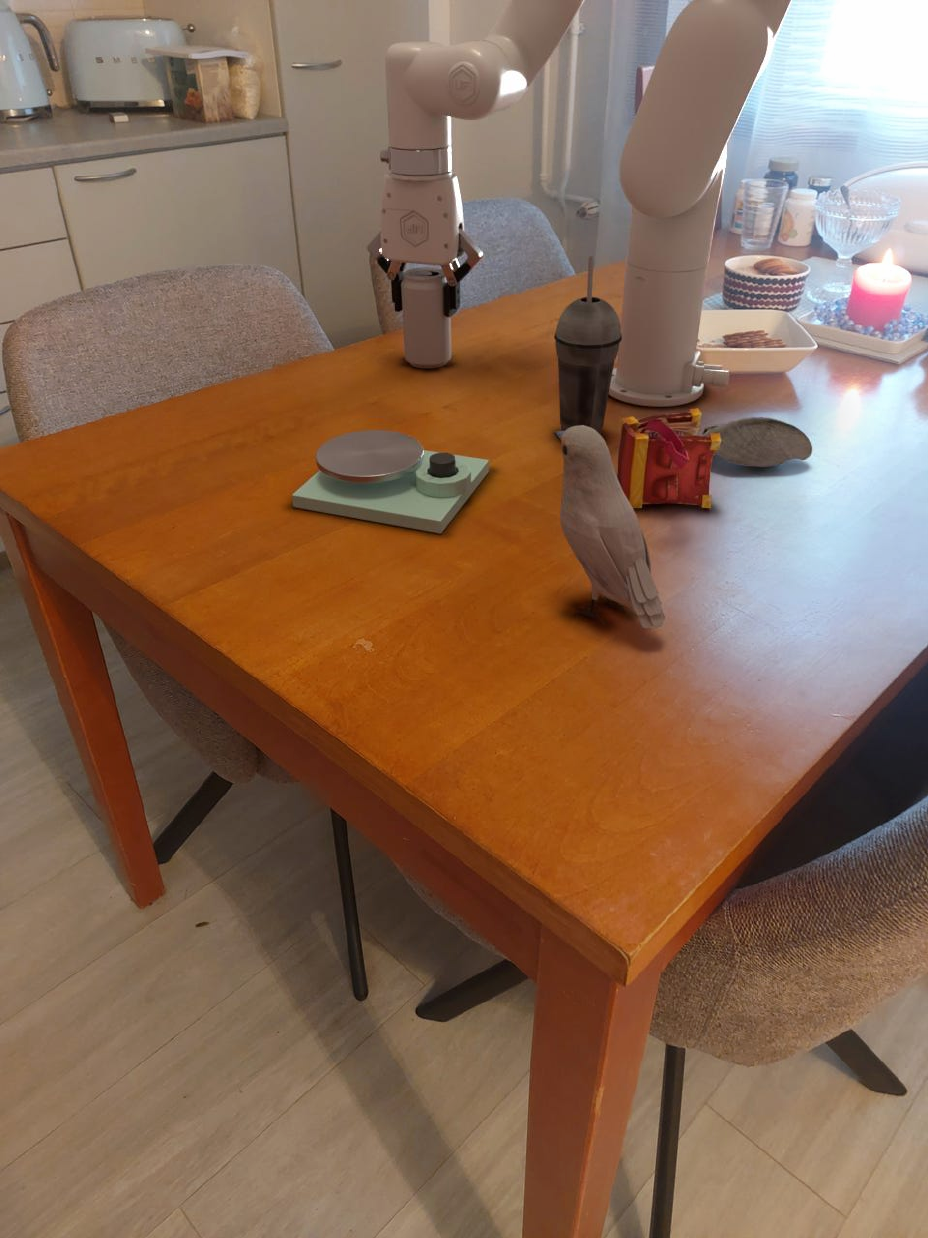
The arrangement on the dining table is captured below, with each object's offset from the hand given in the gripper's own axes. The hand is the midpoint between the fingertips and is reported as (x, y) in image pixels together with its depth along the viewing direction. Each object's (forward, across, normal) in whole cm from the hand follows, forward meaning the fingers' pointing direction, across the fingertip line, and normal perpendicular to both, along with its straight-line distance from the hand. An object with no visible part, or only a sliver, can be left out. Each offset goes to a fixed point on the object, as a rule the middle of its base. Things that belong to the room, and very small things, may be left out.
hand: (426, 310), depth 119 cm
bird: (+7, +36, -50) cm, 62 cm away
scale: (+7, +11, -36) cm, 38 cm away
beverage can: (+7, 0, 0) cm, 7 cm away
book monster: (+7, +38, -31) cm, 50 cm away
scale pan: (+4, +8, -36) cm, 37 cm away
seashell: (+7, +45, -17) cm, 49 cm away
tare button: (+4, +16, -36) cm, 40 cm away
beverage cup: (+7, +26, -17) cm, 32 cm away
